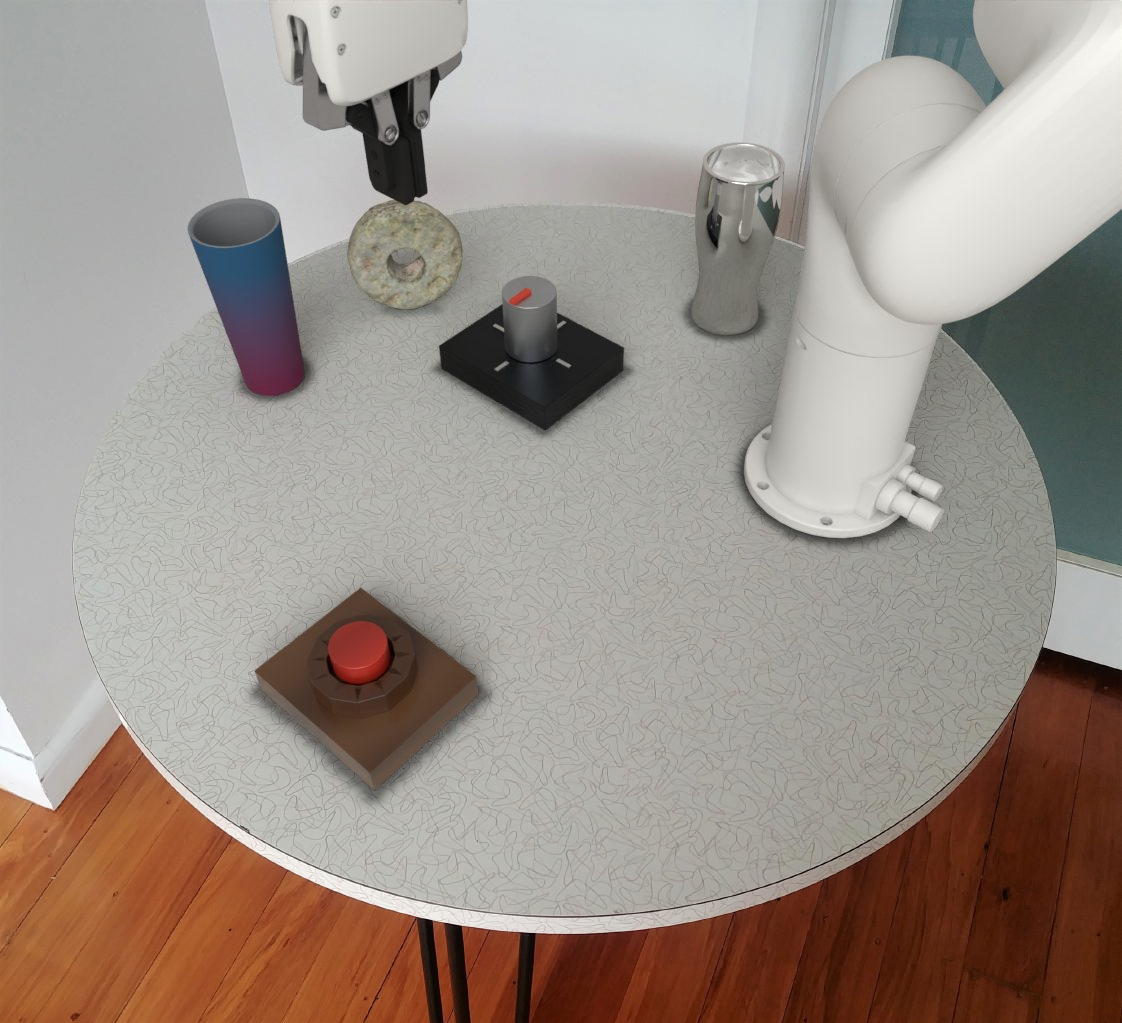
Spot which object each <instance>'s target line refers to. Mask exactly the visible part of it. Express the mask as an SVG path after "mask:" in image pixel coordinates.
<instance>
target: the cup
mask: <svg viewBox="0 0 1122 1023" xmlns="http://www.w3.org/2000/svg"><path fill="white" fill-rule="evenodd" d="M187 234H188V236H189V239H190V241H191V244H192V246H193V250H194V252H195V254H196V257H197V260H198V263H199V266H200V268H201V270H202V274H203V276H204V279H205V281H206V284H207V287H208V288H209V292H210V294H211V296H212V300H213V302H214V305H215V307H216V310H217V312H218V315H219V317H220V320H221V323H222V326H223V328H224V331H225V333H226V336H227V339H228V341H229V344H230V346H231V350H232V351H233V354H234V357H235V359H236V363H237V365H238V367H239V370H240V372H241V375H242V379H243V381H244V383H245V385H246V387H247V389H249V391H250V392H253V393H254V394H256V395H261V396H268V397H269V396H270V397H273V396H280V395H284V394H287V393H289V392H290V391H293V390H295V389H296V388H297V387H299V385H300V384H301V383H302V382H303V381H304V378H305V374H306V372H305V365H304V359H303V358H304V357H303V353H302V346H301V345H302V344H301V341H300V333H299V327H298V322H297V314H296V309H295V301H294V295H293V289H292V283H291V277H290V270H289V263H288V258H287V251H286V246H285V240H284V239H285V238H284V233H283V226H282V221H281V215H280V212H279V210H278V208H276V207H275V206H274V205H272V204H271V203H269V202H267V201H266V200H265V201H264V200H261V199H256V198H248V197H247V198H246V197H240V198H239V197H238V198H231V199H224V200H220V201H217V202H213V203H212V204H208V205H207V206H205V207H202V208H201V209H200V210H199V211H198V212H196V213H195V214H194V215H193V216H192V217H191V218H190V220H189V221H188V224H187Z"/></svg>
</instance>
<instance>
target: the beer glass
mask: <svg viewBox="0 0 1122 1023" xmlns="http://www.w3.org/2000/svg"><path fill="white" fill-rule="evenodd" d="M785 170H786V162H785V160H784V158H783V156H782V155H781V154H779V153H778V152H777V151H776V150H773V149H772V148H769V147H767V146H766V145H761V144H757V143H753V142H738V141H737V142H728V143H722V144H720V145H719V144H718V145H717V146H714V147H712V148H711V149H709V150H708V151H706V153H705V154H704V156H703V159H702V167H701V171H700V176H699V182H698V186H697V194H696V200H695V201H696V203H695V212H694V213H695V215H694V216H695V217H694V229H695V230H694V232H695V246H696V254H697V265H698V279H697V280H698V281H697V287H696V291H695V293H694V297H693V300H692V302H691V307H690V317H691V320H692V321H693V322H694V323H695V325H696V326H698V327H699V328H700V329H702V330H703V331H706V332H708V333H711V334H714V335H719V336H736V335H740V334H743V333H746V332H748V331H750V330H751V329H752V328H754V327H755V326H756V324H757V322H758V320H759V314H760V312H759V311H760V310H759V295H758V294H759V286H760V282H761V277H762V274H763V271H764V268H765V265H766V263H767V260H768V257H769V255H770V252H771V249H772V247H773V245H774V240H775V238H776V235H777V234H776V233H777V231H778V226H779V222H780V216H781V211H782V204H783V203H782V202H783V194H784V180H785Z"/></svg>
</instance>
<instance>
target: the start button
mask: <svg viewBox="0 0 1122 1023" xmlns="http://www.w3.org/2000/svg"><path fill="white" fill-rule="evenodd" d="M328 653H329V656H330V660H331V663H332V666H333V670H334V672H335V674H336V675H337V676H338V677H339V678H340V679H341V680H343V681H345V682H347V683H350V684H366V683H370V682H372V681H374V680H376V679H378V678H379V677H380V676H382V675H383V674H384V672H385V671H386V670H387V668H388V666H389V664H390V659H391V655H390V650H389V646H388V641H387V637H386V634H385V632H384V631H383V630H382V629H381V628H380V627H379V626H378V625H376V624H374V623H371V622H367V621H356V622H351V623H348V624H346V625H344V626H342V627H341V628H339V629H338V630H337V631H336V632H335V633H334V634H333V635H332V637H331V639H330V641H329V645H328Z"/></svg>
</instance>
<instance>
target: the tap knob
mask: <svg viewBox="0 0 1122 1023" xmlns="http://www.w3.org/2000/svg"><path fill="white" fill-rule="evenodd" d="M557 293H558V291H557V287H556V285H555V284H554V283H553V282H552V281H550V280H549V279H547V278H544V277H541V276H538V275H524V276H519V277H515V278H513V279H511V280H509V281H508V282H507V283H505V284H504V285H503V287H502V290H501V301H502V303H501V304H503V321H504V337H505V349H506V352H507V353H508V354H509V355H510V356H511V357H512V358H514V359H516V360H518V361H522V362H539V361H543V360H546V359H548V358H549V357H551V356H552V355H553V354H554V353H555V352H556V350H557V313H558V294H557Z"/></svg>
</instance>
